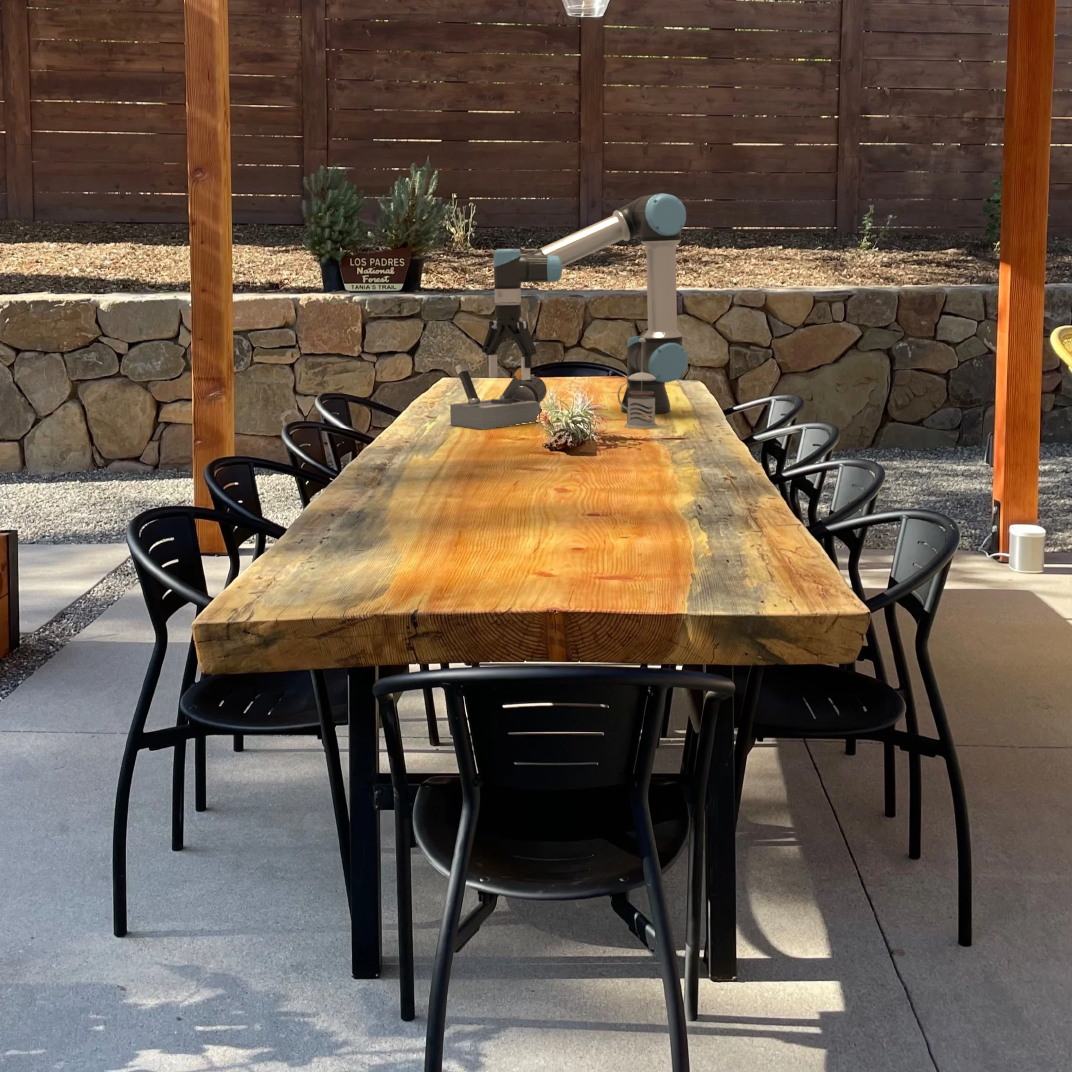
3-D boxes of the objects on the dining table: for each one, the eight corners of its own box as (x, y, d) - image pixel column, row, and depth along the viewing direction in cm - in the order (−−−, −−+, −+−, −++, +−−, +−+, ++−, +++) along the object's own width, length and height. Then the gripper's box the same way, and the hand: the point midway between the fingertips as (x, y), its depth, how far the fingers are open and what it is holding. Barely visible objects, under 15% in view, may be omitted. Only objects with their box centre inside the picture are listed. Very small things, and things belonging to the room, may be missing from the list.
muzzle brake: (547, 407, 432) (547, 375, 430) (537, 419, 405) (537, 384, 402) (517, 407, 433) (517, 375, 431) (505, 418, 406) (505, 384, 403)
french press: (656, 429, 381) (657, 339, 376) (615, 428, 383) (616, 338, 378) (660, 424, 390) (661, 336, 385) (620, 423, 393) (621, 336, 387)
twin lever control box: (507, 418, 405) (506, 359, 402) (539, 422, 396) (539, 362, 392) (450, 425, 391) (449, 364, 387) (482, 429, 381) (481, 367, 377)
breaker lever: (506, 396, 396) (525, 368, 388) (509, 402, 396) (528, 373, 388) (498, 397, 394) (517, 369, 386) (501, 402, 394) (521, 374, 386)
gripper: (468, 304, 394) (470, 377, 398) (528, 304, 376) (530, 381, 380) (488, 303, 399) (489, 375, 403) (548, 304, 381) (549, 379, 385)
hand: (509, 379), depth 392 cm, fingers open, 13 cm apart
